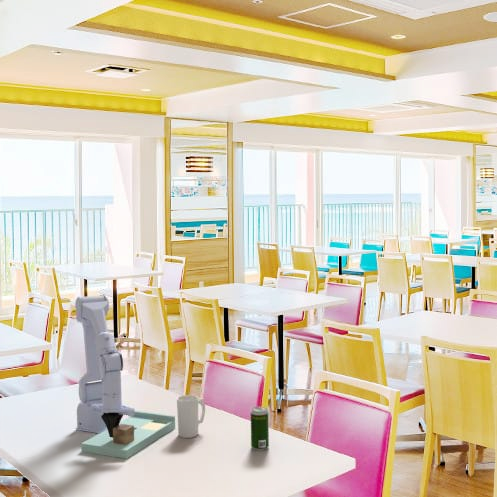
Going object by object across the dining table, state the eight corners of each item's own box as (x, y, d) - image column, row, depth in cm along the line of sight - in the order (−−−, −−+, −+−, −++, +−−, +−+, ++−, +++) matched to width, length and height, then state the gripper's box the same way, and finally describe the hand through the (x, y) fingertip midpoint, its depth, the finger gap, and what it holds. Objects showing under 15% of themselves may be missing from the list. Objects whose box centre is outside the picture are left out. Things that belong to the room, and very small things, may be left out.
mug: (185, 440, 223) (184, 402, 222) (173, 434, 228) (172, 397, 227) (211, 432, 229) (210, 396, 228) (199, 427, 235) (198, 391, 234)
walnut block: (113, 443, 214) (112, 428, 214) (121, 438, 218) (121, 423, 218) (125, 445, 212) (125, 430, 212) (134, 440, 216) (133, 425, 216)
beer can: (272, 449, 214) (271, 410, 213) (256, 452, 212) (255, 412, 211) (263, 443, 219) (263, 405, 218) (248, 446, 217) (247, 408, 216)
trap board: (81, 451, 214) (81, 438, 214) (133, 422, 241) (133, 410, 241) (126, 458, 208) (126, 445, 208) (175, 427, 235) (174, 415, 234)
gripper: (83, 393, 215) (85, 437, 216) (124, 398, 209) (126, 443, 210) (97, 387, 221) (99, 430, 222) (137, 392, 216) (138, 436, 217)
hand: (113, 436), depth 217 cm, fingers closed
